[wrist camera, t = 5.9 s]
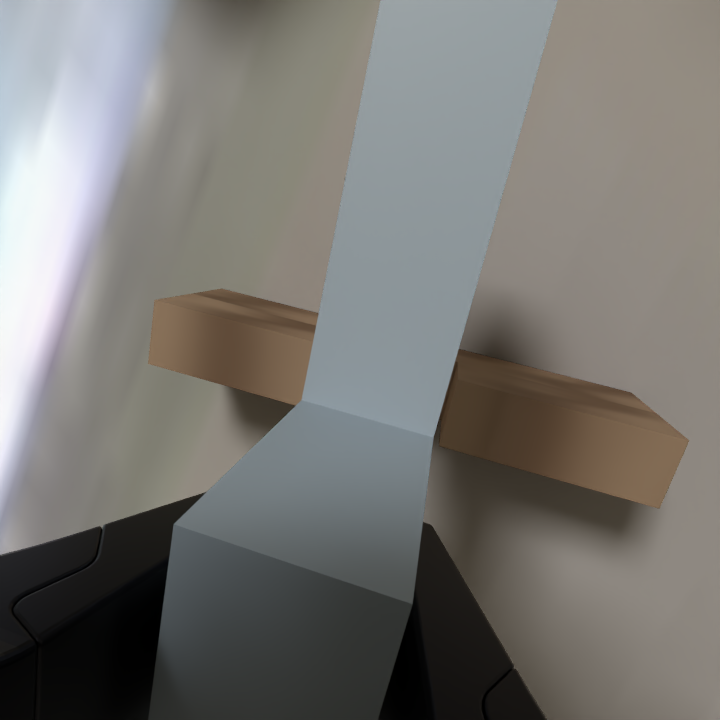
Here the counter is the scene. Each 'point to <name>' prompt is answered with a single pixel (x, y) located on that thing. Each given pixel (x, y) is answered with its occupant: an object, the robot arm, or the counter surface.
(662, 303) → the counter surface
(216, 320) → the walnut slotted plate
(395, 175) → the pale blue collared bar
